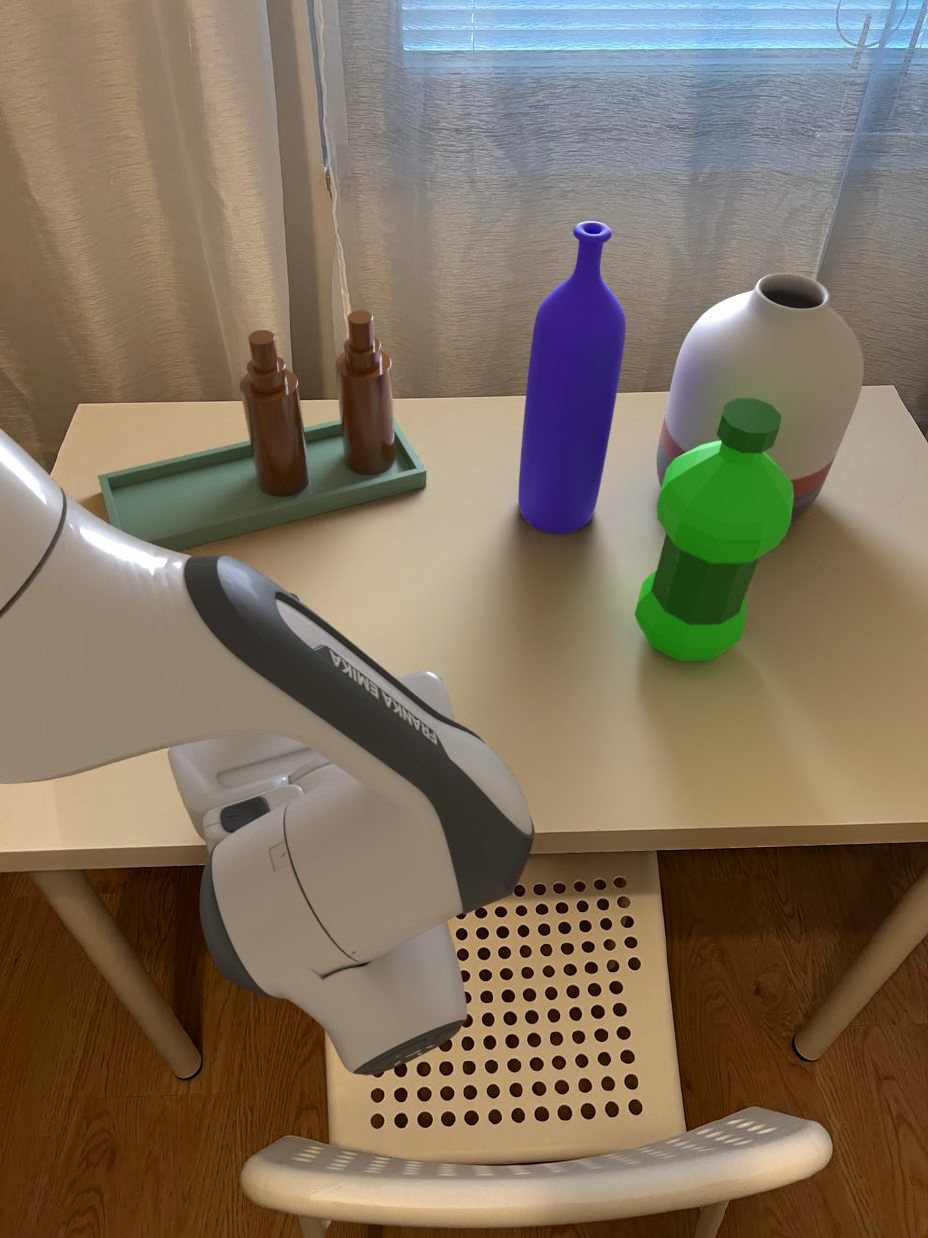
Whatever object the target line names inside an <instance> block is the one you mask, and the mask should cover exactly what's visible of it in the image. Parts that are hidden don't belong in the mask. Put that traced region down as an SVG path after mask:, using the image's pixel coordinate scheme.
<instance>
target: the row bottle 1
mask: <svg viewBox="0 0 928 1238" xmlns="http://www.w3.org/2000/svg"><path fill="white" fill-rule="evenodd" d="M247 338H248V345H249V352H250V356H251V358H250V360H249V361H248V362H247V364H246V372H247V373H246V374H245V375H244V376H243V377H242V378H241V379H240V381H239V390H240V398H241V402H242V406H243V412H244V413H243V414H244V418H245V423H246V428H247V434H248V439H249V440H250V445H251V450H252V456H253V461H254V467H255V472H256V477H257V483H258V486H259V488H260V489H261V490H262V491H263V492H265V493H266V494H268V495H271V496H276V497H287V496H292V495H295V494H298V493H299V492H301V491H303V490H304V489H305V488H306V487H307V486H308V484H309V482H310V471H309V463H308V455H307V448H306V440H305V432H304V428H305V425H304V417H303V411H302V403H301V395H300V387H299V380H298V377H297V376H296V374H295V373H294V372H292V371H291V370H289V369H287V366H286V362H285V360H284V359H283V358H282V357H280V356H279V355H278V348H277V342H276V336H275V333H273V332H272V330H268V329H257V330H254V331H252V332H251V333H250V334H249V335H248V337H247ZM249 440H248V441H249Z"/></svg>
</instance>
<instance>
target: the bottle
mask: <svg viewBox="0 0 928 1238" xmlns="http://www.w3.org/2000/svg"><path fill="white" fill-rule="evenodd" d="M572 232H573V236H574V237H575V239H576V240H578V249H577V255H576V256H577V257H576V262H575V267H574V270H573V272H572V274H571V275H570V277H568V278H567V279H566V280H565V281H563V282H562V283H561V284H559V285H558V286H557V287H556V288H555V289H553V291H551V292H550V294H548V295H547V297H546V298H545V299H543V301H542V303H541V304H540V305H539V308H538V309H537V312H536V315H535V320H534V326H533V330H532V337H531V345H530V351H529V362H528V363H529V364H528V372H527V382H526V392H525V402H524V413H523V425H522V435H521V445H520V446H521V447H520V448H521V449H520V460H519V474H518V495H517V498H518V501H517V502H518V509H519V512H520V515H521V516H522V517H523V518H524V520H525V521H526V522H527V523H528V524H529V525H530V526H532V527H534V528H535V529H537V530H539V531H543V532H545V533H550V534H568V533H569V534H570V533H572V532H576V531H577V530H580V529H581V528H583V527H584V526H586V525H587V524H588V523H589V522H590V520H591V519H592V517H593V515H594V513H595V509H596V507H597V502H598V498H599V493H600V488H601V483H602V478H603V474H604V473H603V472H604V469H605V462H606V458H607V452H608V447H609V442H610V435H611V430H612V424H613V418H614V413H615V406H616V401H617V394H618V388H619V382H620V376H621V370H622V363H623V357H624V349H625V348H624V347H625V341H626V327H627V325H626V315H625V312H624V310H623V308H622V306H621V303H620V302H619V300H618V299H617V298H616V296H615V295H614V293H613V292H612V291H611V289H610V287H609V286H608V285H607V283H605V281H604V280H603V277H602V274H601V262H602V256H603V248H604V244H605V243H606V242H608V241H609V240H610V239H611V238H612V235H613V231H612V229H611V228H610V226H608V224H607V225H606V224H605V223H603V222H599V221H594V220H593V221H592V220H591V221H589V220H588V221H582V222H580V223H578V224H576V225H575V226H574V228H573V231H572Z"/></svg>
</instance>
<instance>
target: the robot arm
mask: <svg viewBox="0 0 928 1238" xmlns="http://www.w3.org/2000/svg"><path fill="white" fill-rule="evenodd" d="M290 593H291V592H290V591H288V590H287V589H285V588H284V587H282V586H281V585H279V584H278V583H277V582H275V581H274V580H272V579H271V578H269V577H268V576H267V575H265V574H263V573H262V572H260V571H259V570H257V569H255V568H254V567H252V566H251V565H249V564H247V563H245V562H244V561H241V560H239V559H238V558H235V557H233V556H230V555H217V554H216V555H213V554H211V555H209V554H208V555H207V554H205V555H203V554H202V555H201V554H194V555H190V554H186V553H183V552H179V551H171V550H168V549H165V548H162V547H159V546H156V545H153V544H151V543H148V542H145V541H143V540H140V539H138V538H136V537H134V536H131V535H129V534H127V533H125V532H123V531H121V530H119V529H117V528H115V527H113V526H112V525H110V523H108V522H106V521H105V520H103V519H101V518H100V517H99V516H97V515H95V514H93V513H92V512H91V511H90V510H88V509H86V508H85V507H84V506H82V505H81V504H80V503H79V502H78V501H76V500H75V498H73V497H72V496H71V495H70V494H69V493H68V492H66V491H65V490H64V489H63V487H62V486H61V485H59V483H58V482H57V481H56V480H55V479H54V478H53V477H52V476H51V475H50V474H49V473H48V472H47V471H46V470H45V469H44V468H43V467H42V466H41V465H40V464H39V463H38V462H37V461H36V460H35V459H34V458H33V457H32V456H31V455H30V454H29V453H28V452H27V451H26V450H25V449H24V448H23V447H22V446H21V445H20V444H19V443H17V441H15V440H14V439H13V438H12V437H11V436H10V435H8V434H7V433H6V432H5V430H3V429H2V428H1V427H0V785H16V784H18V785H19V784H27V783H28V784H29V783H39V782H46V781H52V780H56V779H62V778H66V777H72V776H75V775H79V774H83V773H86V772H90V771H92V770H95V769H99V768H102V767H105V766H108V765H113V764H115V763H118V762H122V761H125V760H129V759H132V758H136V757H138V756H143V755H147V754H150V753H154V752H158V751H161V750H165V749H168V750H167V758H168V762H169V767H170V770H171V773H172V776H173V779H174V782H175V785H176V787H177V790H178V793H179V796H180V799H181V801H182V803H183V806H184V809H185V810H186V812H187V815H188V817H189V820H190V822H191V825H192V827H193V828H194V830H195V832H196V833H197V835H198V836H199V837H200V838H201V839H202V840H203V841H204V843H205V847H206V851H207V853H208V858H207V860H206V862H205V864H204V868H203V872H202V876H201V881H200V890H199V916H200V923H201V928H202V932H203V935H204V940H205V942H206V945H207V946H206V947H207V948H208V951H209V954H210V956H211V958H212V961H213V963H214V965H215V966H216V968H217V970H218V971H219V973H220V974H221V975H222V976H223V978H225V979H226V980H227V981H228V982H231V983H233V984H234V985H236V986H238V987H239V988H242V989H244V990H246V991H248V992H250V993H253V994H255V995H259V996H262V997H265V998H270V999H272V1000H279V1001H284V1002H291V1003H293V1004H294V1005H295V1006H297V1007H298V1008H299V1009H301V1010H302V1011H304V1012H305V1014H307V1015H309V1016H310V1017H311V1018H312V1019H314V1020H315V1021H316V1022H317V1023H318V1024H319V1025H320V1026H321V1027H322V1029H323V1030H324V1031H325V1032H326V1034H327V1035H328V1038H329V1039H330V1041H331V1044H332V1045H333V1048H334V1050H335V1053H336V1054H337V1056H338V1058H339V1059H340V1062H341V1063H342V1065H343V1067H344V1068H345V1069H346V1070H347V1071H348V1072H349V1073H351V1074H354V1075H363V1076H374V1075H378V1074H381V1073H385V1072H387V1071H390V1070H393V1069H395V1068H396V1067H399V1066H401V1065H403V1064H407V1063H409V1062H412V1061H413V1060H415V1059H417V1058H419V1057H421V1056H423V1055H425V1054H428V1053H429V1052H431V1051H433V1050H435V1049H437V1048H438V1047H441V1046H442V1045H444V1044H445V1043H446V1042H448V1041H450V1040H451V1039H452V1038H454V1037H455V1036H456V1035H457V1034H458V1033H459V1032H460V1030H461V1028H462V1027H463V1025H464V1024H465V1023H466V1021H467V1019H468V1004H467V998H466V993H465V992H466V991H465V986H464V981H463V977H462V976H463V975H462V971H461V968H460V964H459V958H458V955H457V952H456V948H455V944H454V940H453V937H452V934H451V933H452V932H451V930H450V927H449V923H448V921H449V920H452V919H453V918H456V917H457V916H459V915H461V914H462V915H463V916H465V915H468V914H470V913H472V912H474V911H476V910H479V909H481V908H484V907H486V906H489V905H491V904H493V903H496V902H498V901H500V900H503V899H505V898H508V897H510V896H512V895H513V894H514V892H515V889H516V888H517V886H518V884H519V882H520V879H521V877H522V875H523V872H524V870H525V868H526V866H527V863H528V860H529V857H530V854H531V851H532V848H533V844H534V839H535V834H536V831H535V826H534V822H533V819H532V816H531V811H530V808H529V805H528V802H527V799H526V796H525V794H524V792H523V790H522V787H521V785H520V783H519V781H518V780H517V778H516V776H515V775H514V774H513V771H512V770H511V768H510V767H509V766H508V764H507V763H506V762H505V761H504V760H503V758H502V757H501V756H500V755H499V754H498V753H497V752H496V751H495V750H494V749H493V748H492V747H490V746H489V745H488V744H487V743H486V741H485V740H483V739H482V738H481V737H480V736H479V735H478V734H477V733H475V732H474V731H473V730H471V729H470V728H468V727H466V726H464V725H463V724H460V723H459V722H456V721H455V715H454V711H453V707H452V704H451V701H450V700H451V699H450V696H449V693H448V690H447V686H446V685H445V682H444V680H443V678H442V677H441V676H439V675H437V674H436V673H434V672H432V671H430V670H422V671H417V672H415V673H410V674H407V675H403V676H399V677H395V676H394V675H393V674H391V673H390V672H389V671H388V670H386V669H385V668H384V667H383V666H381V665H380V664H379V663H378V662H377V661H376V660H374V659H373V658H372V657H370V656H369V655H368V654H367V653H365V651H363V650H362V647H361V645H356V644H355V643H353V641H351V640H350V639H348V638H347V637H346V636H345V635H344V634H343V633H341V632H340V631H339V630H338V629H336V628H335V627H334V626H332V624H330V623H329V622H328V621H326V620H325V619H324V618H323V617H321V616H320V615H319V614H318V613H316V612H315V611H313V610H312V609H311V608H310V607H308V606H307V605H306V603H303V602H302V600H301V601H299V600H298V599H297V598H296V597H294V596H293V595H292V594H290Z"/></svg>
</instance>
